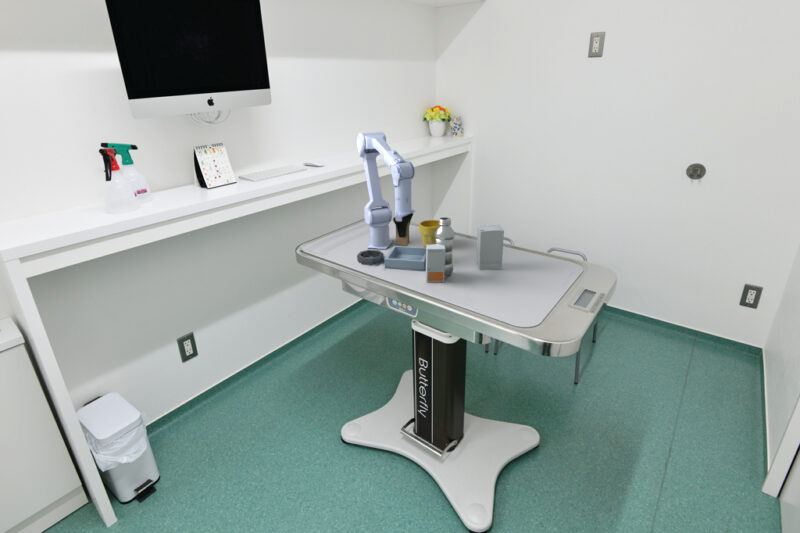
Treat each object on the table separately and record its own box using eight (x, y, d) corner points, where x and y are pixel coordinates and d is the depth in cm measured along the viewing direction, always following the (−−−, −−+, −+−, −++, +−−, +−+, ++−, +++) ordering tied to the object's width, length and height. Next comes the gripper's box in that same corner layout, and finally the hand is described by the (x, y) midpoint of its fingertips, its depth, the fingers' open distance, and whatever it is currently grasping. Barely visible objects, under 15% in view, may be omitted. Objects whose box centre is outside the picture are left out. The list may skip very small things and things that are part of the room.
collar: (362, 255, 173) (362, 249, 172) (385, 256, 171) (385, 250, 170) (355, 264, 165) (354, 257, 164) (379, 266, 163) (378, 259, 162)
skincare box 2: (498, 263, 164) (501, 224, 158) (502, 270, 158) (505, 229, 152) (475, 264, 163) (477, 224, 158) (478, 270, 158) (480, 230, 152)
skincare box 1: (426, 282, 149) (426, 248, 144) (425, 277, 153) (426, 244, 148) (444, 282, 149) (445, 248, 144) (443, 276, 153) (444, 243, 148)
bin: (393, 254, 174) (393, 245, 172) (429, 256, 171) (430, 247, 169) (384, 268, 161) (384, 258, 160) (423, 271, 158) (423, 261, 157)
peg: (398, 242, 166) (398, 221, 163) (409, 242, 165) (409, 221, 162) (396, 245, 162) (395, 224, 159) (407, 246, 161) (406, 225, 158)
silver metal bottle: (435, 270, 158) (437, 215, 151) (454, 273, 156) (457, 216, 149) (431, 277, 152) (432, 220, 145) (451, 280, 151) (453, 222, 143)
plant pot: (413, 245, 182) (413, 222, 178) (434, 240, 187) (434, 217, 184) (429, 253, 174) (429, 228, 170) (450, 247, 179) (451, 224, 176)
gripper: (410, 203, 149) (410, 242, 155) (418, 193, 162) (418, 229, 168) (389, 202, 151) (390, 241, 156) (399, 192, 164) (399, 228, 169)
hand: (403, 235), depth 162 cm, fingers closed on peg, 4 cm apart
